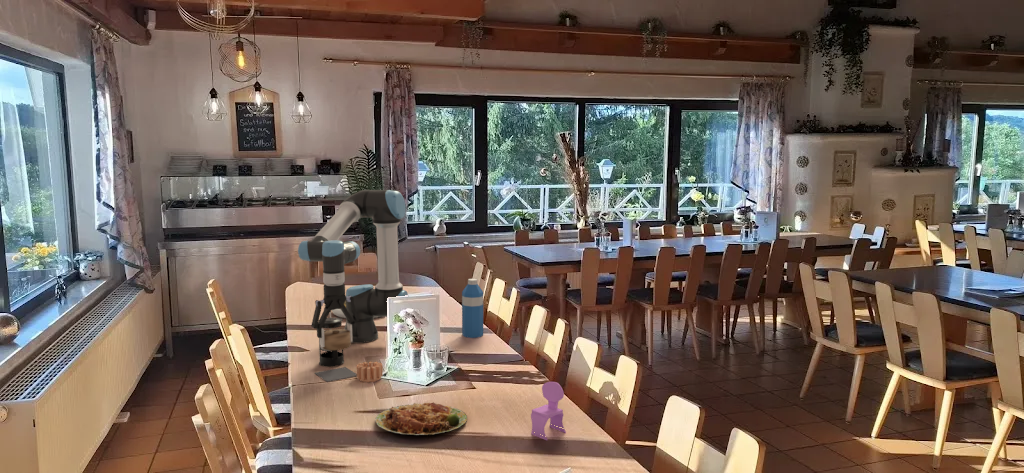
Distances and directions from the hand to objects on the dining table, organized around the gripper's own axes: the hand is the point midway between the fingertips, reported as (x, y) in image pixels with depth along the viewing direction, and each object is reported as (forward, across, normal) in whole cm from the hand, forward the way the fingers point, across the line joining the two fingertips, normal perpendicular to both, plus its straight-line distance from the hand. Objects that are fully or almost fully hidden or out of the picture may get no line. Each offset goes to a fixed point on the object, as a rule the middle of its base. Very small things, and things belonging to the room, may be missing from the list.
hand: (336, 343), depth 264 cm
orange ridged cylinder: (+12, +8, -11) cm, 18 cm away
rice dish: (+12, +3, -58) cm, 60 cm away
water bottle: (+13, +70, +18) cm, 74 cm away
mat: (+12, 0, 0) cm, 12 cm away
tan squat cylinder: (+1, 0, 0) cm, 1 cm away
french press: (+12, +4, +14) cm, 18 cm away
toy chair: (+11, +28, -87) cm, 93 cm away
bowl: (+14, +48, +84) cm, 98 cm away
